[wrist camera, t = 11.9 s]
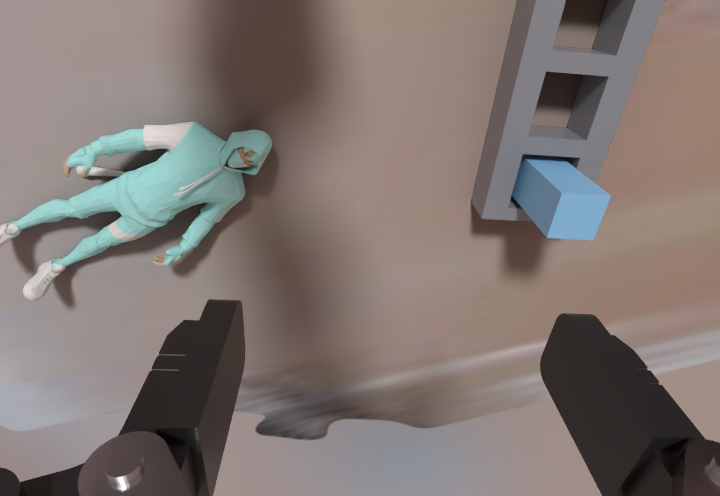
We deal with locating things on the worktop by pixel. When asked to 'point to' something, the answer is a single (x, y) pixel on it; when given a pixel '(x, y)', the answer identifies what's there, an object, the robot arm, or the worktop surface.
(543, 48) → the panel
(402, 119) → the worktop surface
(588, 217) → the plug
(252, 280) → the worktop surface
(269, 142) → the figurine
